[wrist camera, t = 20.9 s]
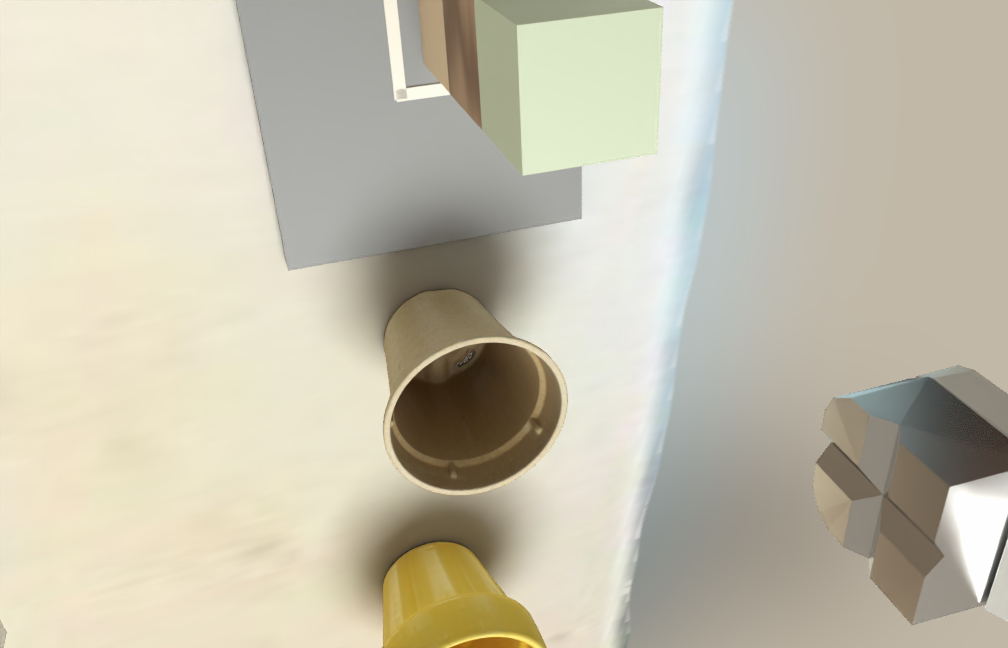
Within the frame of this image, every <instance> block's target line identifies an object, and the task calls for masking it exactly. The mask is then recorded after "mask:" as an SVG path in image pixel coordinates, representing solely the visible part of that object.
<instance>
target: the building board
mask: <svg viewBox="0 0 1008 648" xmlns="http://www.w3.org/2000/svg"><path fill="white" fill-rule="evenodd" d="M236 3H237V9H238V14H239V19H240V24H241V29H242V35H243V40H244V45H245V50H246V55H247V60H248V66H249V71H250V76H251V81H252V86H253V92H254V97H255V102H256V107H257V112H258V117H259V123H260V128H261V133H262V138H263V143H264V148H265V154H266V159H267V164H268V169H269V174H270V180H271V185H272V190H273V195H274V200H275V205H276V211H277V216H278V221H279V226H280V231H281V236H282V242H283V247H284V252H285V257H286V262H287V267H288V271H289V270H295V269H301V268H306V267H312V266H318V265H323V264H329V263H334V262H340V261H346V260H351V259H357V258H363V257H368V256H374V255H379V254H385V253H391V252H396V251H402V250H408V249H413V248H419V247H424V246H430V245H436V244H441V243H447V242H453V241H458V240H464V239H469V238H475V237H481V236H486V235H492V234H498V233H503V232H509V231H514V230H520V229H526V228H531V227H537V226H543V225H548V224H554V223H559V222H565V221H571V220H576V219H582V206H581V166H579V167H573V168H567V169H561V170H555V171H549V172H543V173H536V174H530V175H524V176H522V174H521V173H520V172H519V171H518V170H517V169H516V168H515V167H514V165H513V164H512V163H511V162H510V161H509V160H508V159H507V158H506V156H505V155H504V154H503V153H502V152H501V151H500V150H499V149H498V147H497V146H496V145H495V144H494V143H493V142H492V141H491V140H490V138H489V137H488V136H487V135H486V134H485V133H484V132H483V131H482V129H481V128H480V127H479V126H478V125H477V124H476V123H475V122H474V120H473V119H472V118H471V117H470V116H469V115H468V114H467V113H466V111H465V110H464V109H463V108H462V107H461V106H460V105H459V104H458V102H457V101H456V100H455V99H454V98H453V97H452V96H451V95H450V92H449V79H448V66H447V54H446V41H445V29H444V16H443V3H442V0H236Z"/></svg>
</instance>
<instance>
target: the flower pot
mask: <svg viewBox="0 0 1008 648" xmlns="http://www.w3.org/2000/svg"><path fill="white" fill-rule="evenodd" d="M384 351H385V356H386V362H387V370H388V378H389V387H390V398H389V401H388V404H387V407H386V410H385V414H384V421H383V436H384V443H385V447H386V450H387V453H388V455H389V458H390V460H391V462H392V463H393V465H394V466H395V467H396V469H397V470H398V471H399V472H400V473H401V474H402V475H403V476H404V477H406V479H408V480H409V481H411V482H412V483H414V484H416V485H417V486H419V487H421V488H424V489H426V490H429V491H431V492H435V493H439V494H445V495H471V494H477V493H482V492H486V491H490V490H492V489H496V488H500V487H501V486H504V485H506V484H508V483H510V482H512V481H513V480H516V479H517V478H519V477H521V476H522V475H524V474H525V473H526V472H527V471H528V470H530V469H531V468H532V467H534V466H535V465H536V464H537V463H538V462H539V461H540V460H541V458H542V457H543V456H544V455H545V454H546V453H547V452H548V451H549V449H550V448H551V447H552V445H553V444H554V442H555V440H556V439H557V437H558V435H559V433H560V431H561V428H562V426H563V423H564V420H565V417H566V412H567V404H568V394H567V388H566V383H565V380H564V377H563V375H562V373H561V371H560V369H559V368H558V366H557V365H556V363H555V362H554V361H553V360H552V359H551V357H550V356H549V355H548V354H547V353H546V352H544V351H543V350H542V349H540V348H539V347H537V346H536V345H534V344H532V343H530V342H528V341H526V340H523V339H520V338H516V337H514V336H513V335H512V334H511V333H510V332H509V331H507V330H506V329H505V328H504V327H503V326H502V325H501V324H500V323H499V322H498V321H497V320H496V319H495V318H494V317H493V316H492V315H491V314H490V313H489V312H488V311H487V310H486V309H485V308H484V307H483V306H482V304H481V303H480V302H479V301H478V300H476V299H475V298H474V297H472V296H471V295H469V294H467V293H464V292H462V291H459V290H455V289H448V290H438V291H425V292H422V293H420V294H418V295H416V296H414V297H413V298H411V299H409V300H408V301H406V302H405V303H404V304H403V305H402V306H401V307H400V308H399V309H398V310H397V311H396V312H395V314H394V315H393V316H392V318H391V320H390V321H389V323H388V326H387V328H386V332H385V339H384ZM471 351H474V352H475V353H474V355H473V357H472V358H471V360H469V361H468V363H466V364H465V365H462V366H458V364H460V363H461V362H462V361H463V360H464V359H465V358H466V357H467V356H468V355H469V354H470V352H471Z"/></svg>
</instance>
